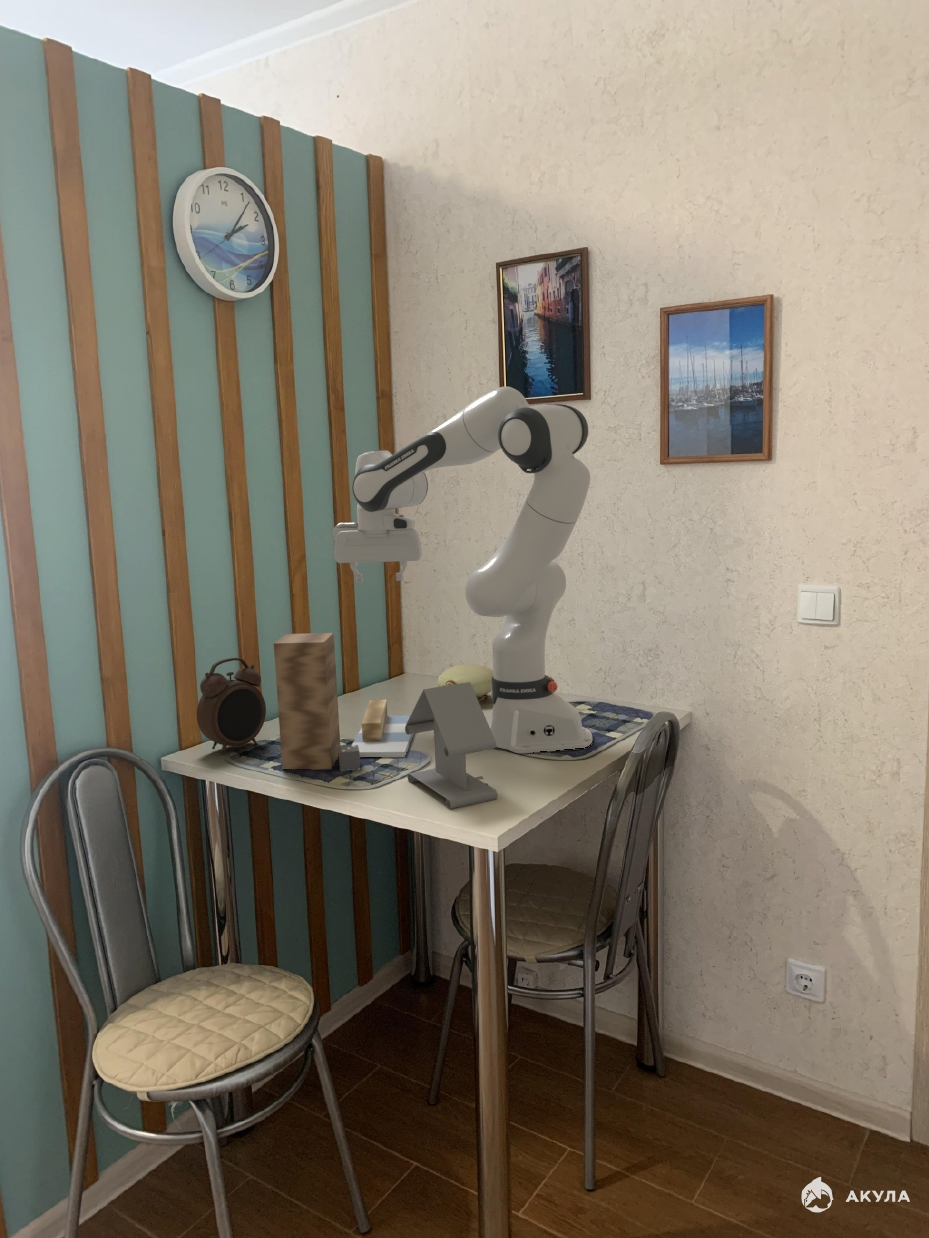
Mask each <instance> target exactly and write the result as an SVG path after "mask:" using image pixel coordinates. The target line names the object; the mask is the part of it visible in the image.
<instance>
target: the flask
mask: <svg viewBox="0 0 929 1238" xmlns="http://www.w3.org/2000/svg"><path fill="white" fill-rule="evenodd" d="M492 677H493V668H490V667H487V666H485V665H479V664H476V663H463V664H459V665H455V666H451V667H449V668H447V669H446V670H445V671H443V672H442V673H441V674H440V675H439V676H438V679H437V687H442V686H448V685H454V684H461V683H467V682H470V683H471V686H472V688H473V690H474V692H475V695H476V697H477V699H478V697H481V696H482V697H481V698H479V699H478V702H479V703H480V702H482V701H484V700H486V699H485V698H487V699H488V698H489V695H488V694H489V693H491V681H492Z"/></svg>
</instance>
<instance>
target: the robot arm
mask: <svg viewBox="0 0 929 1238" xmlns="http://www.w3.org/2000/svg"><path fill="white" fill-rule="evenodd" d="M588 436H589V424H588V421H587V419H586V416H584V414H583V413H582V412H581V411H580V410H579V409H577V408H576V407H574V406H571V405H566V404H559V403H558V404H557V403H556V404H555V403H554V404H548V403H547V404H543V403H542V404H536V405H532V406H531V405H530V404H529V403H528V401H527V399H526V398H525V396H524V395H523V394H522V393H521V391H519V390H517V389H516V388H513V387H511V386H500V387H498V388H495V389H493V390H491V391H489V392H487V393H485V394H483V395H481V396H479V397H478V398H476V399H475V400H473V401H472V402H470V403H469V404H468V405H466V406H465V407H463V408H462V409H460V411H458V412H457V413H456V414H454V415H453V416H452V417H450V418H449V419H448V420H445V421H444V422H443V423H442V424H440V425H438V426H437V427H435V428H434V429H432V430H431V431H429V432H428V433H426V434H425V435H423V436H421V437H420V438H418V439H416V440H414V441H412V442H411V443H409V444H407V445H405V447H403V448H401V449H400V450H398V451H397V452H395V453H393V454H392V452H390V451H389V450H387V449H373V450H369V451H365V452H362V453H360V454H359V455H358V456H357V459H356V463H355V469H354V471H355V472H354V474H355V476H354V477H353V480H352V494H353V497H354V499H355V500H356V502H357V506H356V519H357V522H339V523H338V524H336V525H335V526H334V527H333V528H332V539H333V541H334V554H333V555H334V560H335V562H336V563H338V564H349V568H350V569H351V571H352V572H353V574H354V576H355V582H356V583H363V582H364V578H363V577H364V574H363V573H360V572H359V570H358V569H357V567H358V566H359V564H358V563H383V562H385V563H387V562H399V564H400V565H399V566H400V567H401V569H400V571H399V572H396V573H395V577H396V578H395V581H397V582H399V581H401V582H403V581H404V572H405V570H406V569H407V566H408V562H416V561H417V562H418V561H419V560H420V559H422V556H423V552H422V551H423V548H422V541H421V538H420V534H419V533H418V532H419V531H417V529H415V527H416V520H415V519H414V518H412V517H409V516H405V515H402V514H397V513H396V509H402V508H411V507H415V506H417V505H420V504H422V502H423V501H424V500H425V499H426V497H427V494H428V490H429V482H428V478H427V476H426V473H425V472H427V471H430V470H433V469H439V468H444V467H445V468H446V467H456V466H465V465H472V464H475V463H477V462H480V461H482V460H485V459H487V458H488V457H490V456H493V454H495V453H497V452H498V451H499V450H501V451H502V452H503V454H504V455H505V456H506V457H507V458H508V459H509V460H510V461H511V462H513V463H515V464H516V465H517V466H518V467H519V468H520V470H521V471H522V472H524V473H525V474H533V475H534V476H533V477H534V478H533V482H532V485H531V488H530V490H529V492H528V494H527V496H526V499H525V501H524V504H523V506H522V508H521V510H520V512H519V515H518V517H517V519H516V522H515V523H514V526H513V527H512V530H511V531H510V533H509V534H508V535H507V536H506V538H505V539H504V541H503V542H502V543H501V544H500V546H499V547H498V549H496V551H494V553H493V555H491V557H489V559H488V560H486V562H485V563H484V564H483V565H481V566H479V568H478V569H476V570H475V571H473V572H472V573H471V574H470V575H469V576H468V578H467V580H466V583H465V588H464V590H465V593H464V594H465V599H466V601H467V605H468V606H469V608H470V609H471V611H473V612H474V613H475V614H477V615H478V616H482V617H490V618H491V617H492V618H502V617H505V620H504V623H503V625H502V627H501V629H500V631H499V632H498V633H497V634H496V635H495V637H494V639H493V640H492V670H493V677H492V681H491V692H490V695H491V703H492V715H491V716H492V717H491V723H490V729H491V732H492V734H493V736H494V739H495V741H496V748H499V749H504V750H509V751H510V752H513V753H516V754H530V753H532V754H533V752H534V753H541V752H540V751H547V752H557V751H556V750H560V751H565V750H564V749H573V750H576V749H575V748H584V749H586V748H585V747H587V746H589V745H590V744H591V743H592V741H594V740H593V734H592V732H591V731H590V729H588V728H586V727H584V726H583V723H582V718H581V715H580V713H579V711H578V710H577V708H576V707H575V706H574V705H573V704H571V703H569V701H567V700H566V699H564V698H563V697H561V696H560V695H559V694H557V693H556V692H557V690H558V683H557V682H556V681H555V679H553V677H552V676H551V675H550V676H548V675H546V674H545V673H546V671H545V670H546V669H545V668H546V667H545V665H546V664H545V663H546V661H545V660H546V659H545V658H546V657H545V656H546V653H545V652H546V638H547V632H548V627H549V625H550V620H551V617H552V615H553V612H554V609H555V608H556V605H557V604H558V603H559V602H560V599H561V598H562V597H563V596H564V594H565V591H566V587H567V580H566V579H567V578H566V575H565V574H566V573H565V572H564V569H563V568H562V567H561V566H560V564H558V563H557V562H556V561H554V560H555V559H557V558H558V557H559V556H560V555H561V554H562V552H563V551H564V549H565V547H566V545H567V542H568V540H569V538H570V537H571V534H572V532H573V530H574V528H575V525H576V523H577V521H578V520H579V517H580V515H581V513H582V510H583V507H584V504H585V500H586V498H587V495H588V492H589V488H590V487H589V486H590V484H591V483H590V482H591V473H590V471H589V469H588V467H587V466H586V464H584V463H583V462H582V461H581V460H580V459H579V458H577V457H576V458H575V456H574V455H575V454H576V453H578V452H579V451H580V450H581V449H582V448H583V447H584V446H585V444H586V442H587V439H588ZM592 744H593V743H592ZM592 744H591V745H592ZM589 747H590V746H589Z"/></svg>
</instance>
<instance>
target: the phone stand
mask: <svg viewBox="0 0 929 1238" xmlns="http://www.w3.org/2000/svg"><path fill="white" fill-rule="evenodd" d="M410 715H411V716H410V718H409V720H408V722H407V724H406V726H405V732H406V734H407V735H409V734H419V733H424V732H425V733H426V732H430V731H431V732H432V731H433V737H434V738H433V740H434V762H435V763H434V764H435V768H430V769H424V770H421V771H415V772H409V773H407V781H408V783H410V784H413V783H417V782H421V784H423V785H425V786H427V787H428V788H430V789H431V790H432V791H434V792H436V793H437V794H439V795H440V796H442V797H444V799H446V800H445V806H446V808H447V809H449V810H453V809H457V808H461V807H466V806H470V805H474V804H479V803H484V802H488V801H493V800H497V799H498V791H497V790H496V788H494V787H492V786H490V785H488V784H487V783H485V782H483V781H481V780H480V779H479V778H476V776H473V775H471V774H470V773H468V772H467V757H466V755H467V754H472V753H477V752H482V751H487V750H492V749H495V748H497V747H496V741H495V739H494V736H493V734H492V732H491V726H490V725H489V722H488V720H487V718H486V716H485V713H484V711H483V708H482V706H481V704H480V702H478V697H476V695H475V692H474V690H473V688H472V686H471V683H470V682H467V683H461V684H454V685H448V686H442V687H438V686H437V687H431V688H430V687H429V688H424V689H423V690H422V692H421V694H420V696H419V698H418V700H417V701H416V704H415V705H414V708H413V710H412V712H411V714H410Z"/></svg>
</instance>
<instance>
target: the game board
mask: <svg viewBox="0 0 929 1238" xmlns="http://www.w3.org/2000/svg"><path fill="white" fill-rule="evenodd" d="M410 716H411V714H410V715H409V714H408V715H407V714H405V715H403V714H402V715H387V720H386V724H385V728H384V732H383V736H382V740H381V741H365V742H363V739H362V727H361V728H360V730H359V731H358V733H357V735H356V737H355V739H354V741H353V742H352V743H351V745H350V746H353V745H358V747H359V753H360V757H382V758H406V756H407V753H408V751H409V748H410V745H411V743H412V740H413V736H414V734H409V735H407V734H406V732H405V726H406V724H407V722H408V720H409V718H410ZM406 752H407V753H406ZM405 755H406V756H405Z"/></svg>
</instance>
